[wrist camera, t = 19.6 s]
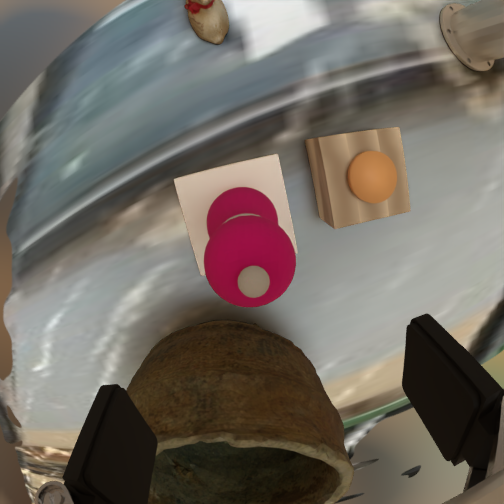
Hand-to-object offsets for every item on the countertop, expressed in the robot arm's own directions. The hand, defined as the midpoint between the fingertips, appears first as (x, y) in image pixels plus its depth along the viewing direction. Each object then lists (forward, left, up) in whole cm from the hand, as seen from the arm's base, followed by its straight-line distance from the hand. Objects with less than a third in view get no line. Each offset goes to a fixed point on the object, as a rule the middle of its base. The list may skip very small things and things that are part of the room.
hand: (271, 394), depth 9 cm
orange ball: (-15, -2, -30) cm, 33 cm away
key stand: (-15, -2, -30) cm, 34 cm away
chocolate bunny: (-2, -25, -31) cm, 40 cm away
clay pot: (+7, +21, -31) cm, 38 cm away
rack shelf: (0, 0, -30) cm, 30 cm away
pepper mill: (0, 0, -28) cm, 28 cm away
